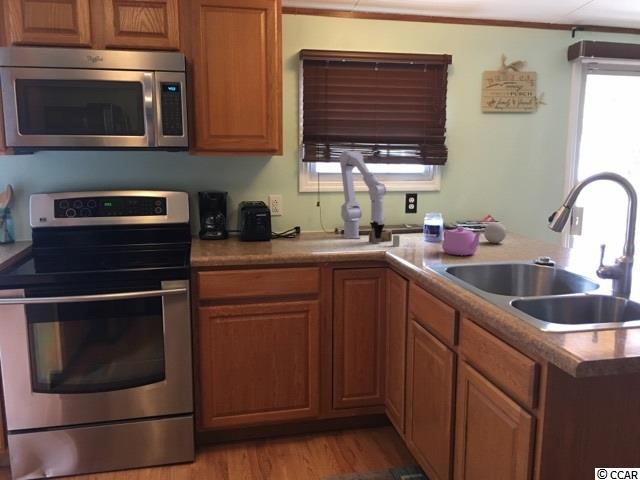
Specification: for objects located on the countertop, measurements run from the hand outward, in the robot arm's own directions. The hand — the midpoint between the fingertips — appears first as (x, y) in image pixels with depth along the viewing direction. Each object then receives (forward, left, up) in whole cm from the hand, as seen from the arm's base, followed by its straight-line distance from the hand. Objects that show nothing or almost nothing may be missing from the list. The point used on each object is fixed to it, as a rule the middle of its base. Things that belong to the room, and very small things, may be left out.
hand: (377, 237), depth 246 cm
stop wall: (+8, +7, -3) cm, 11 cm away
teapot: (+31, +30, -3) cm, 43 cm away
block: (0, 0, -2) cm, 2 cm away
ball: (+9, +55, -3) cm, 56 cm away
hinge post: (-6, +7, -3) cm, 10 cm away
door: (-4, +2, -3) cm, 5 cm away
